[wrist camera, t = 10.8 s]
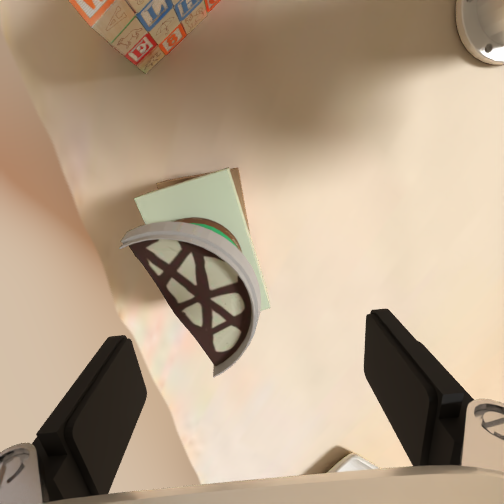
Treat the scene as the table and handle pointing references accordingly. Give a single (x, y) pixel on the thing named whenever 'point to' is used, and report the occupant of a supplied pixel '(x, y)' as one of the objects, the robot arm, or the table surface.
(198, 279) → the food container
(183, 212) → the tower top slab
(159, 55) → the stack of blocks
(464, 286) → the table surface
